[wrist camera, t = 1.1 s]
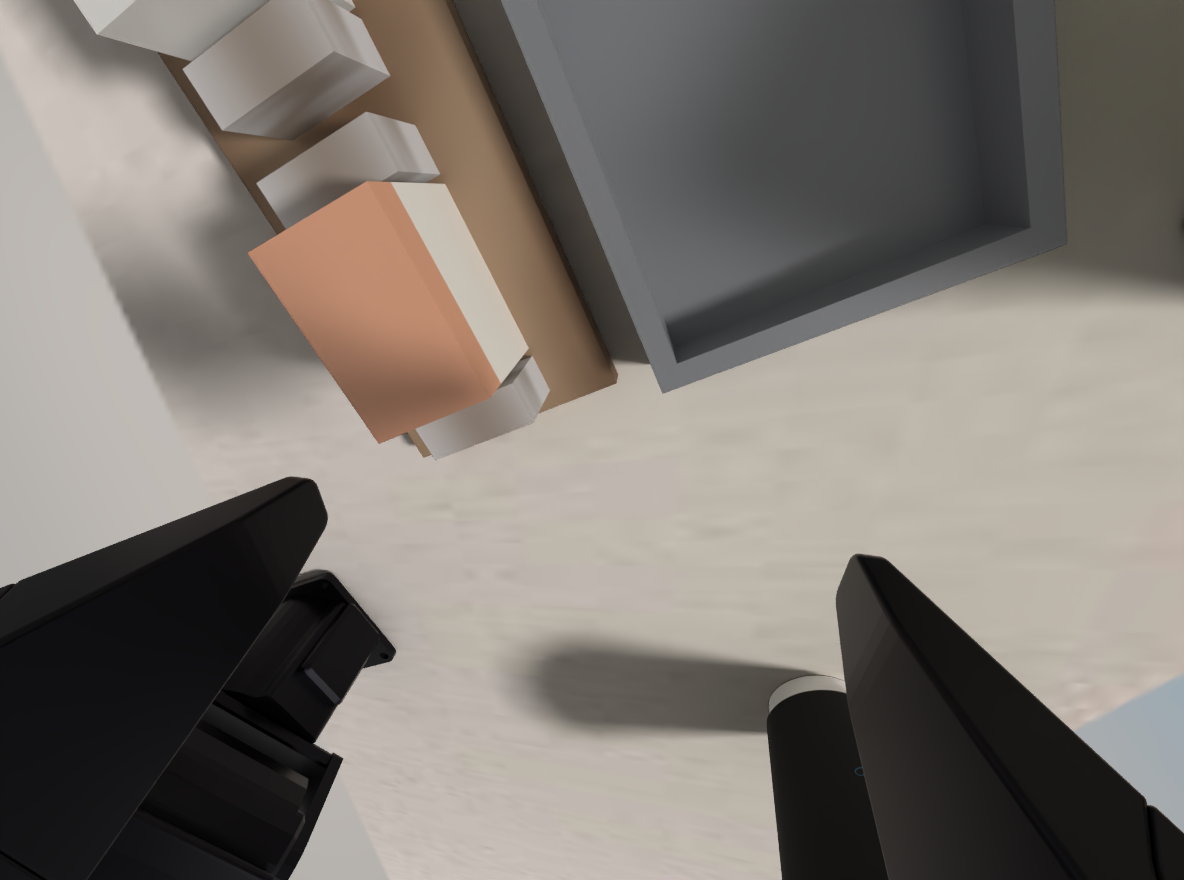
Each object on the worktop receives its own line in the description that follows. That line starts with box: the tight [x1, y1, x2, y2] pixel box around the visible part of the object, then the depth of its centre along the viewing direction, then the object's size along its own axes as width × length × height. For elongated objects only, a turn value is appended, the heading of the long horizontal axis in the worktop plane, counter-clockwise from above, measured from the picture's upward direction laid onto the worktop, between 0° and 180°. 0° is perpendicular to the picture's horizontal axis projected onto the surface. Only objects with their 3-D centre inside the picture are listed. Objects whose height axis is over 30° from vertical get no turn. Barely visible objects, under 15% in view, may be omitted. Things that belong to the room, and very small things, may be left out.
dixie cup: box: [767, 676, 889, 880], centre depth 22 cm, size 8×8×11 cm
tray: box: [501, 0, 1067, 393], centre depth 14 cm, size 12×14×3 cm
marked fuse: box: [248, 181, 529, 444], centre depth 16 cm, size 4×6×5 cm, turn 24°
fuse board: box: [158, 0, 618, 460], centre depth 15 cm, size 9×22×4 cm, turn 24°
